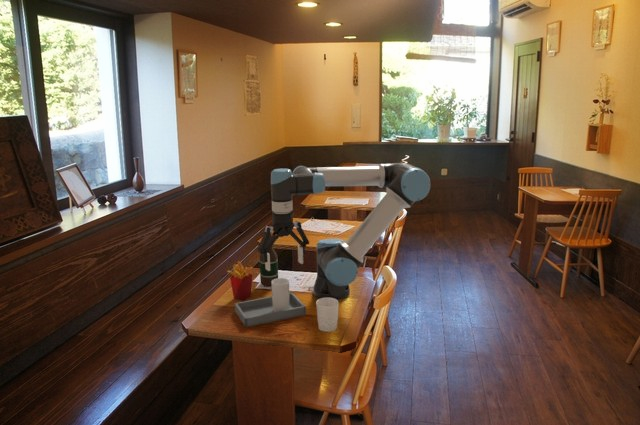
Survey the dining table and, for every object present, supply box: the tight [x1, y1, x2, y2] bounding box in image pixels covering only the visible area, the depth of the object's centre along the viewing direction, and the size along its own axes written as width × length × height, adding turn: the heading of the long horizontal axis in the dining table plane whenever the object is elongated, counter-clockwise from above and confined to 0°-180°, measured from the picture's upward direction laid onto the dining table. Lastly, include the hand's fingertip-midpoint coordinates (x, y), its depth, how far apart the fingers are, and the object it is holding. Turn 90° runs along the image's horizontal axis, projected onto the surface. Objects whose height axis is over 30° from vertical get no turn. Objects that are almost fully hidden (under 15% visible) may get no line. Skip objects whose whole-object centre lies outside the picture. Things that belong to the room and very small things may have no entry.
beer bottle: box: [259, 231, 279, 288], centre depth 225 cm, size 8×8×24 cm
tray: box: [234, 292, 307, 328], centre depth 199 cm, size 24×15×4 cm, turn 114°
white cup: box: [315, 297, 339, 333], centre depth 187 cm, size 8×8×10 cm
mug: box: [271, 277, 290, 312], centre depth 200 cm, size 10×7×12 cm, turn 158°
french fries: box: [227, 261, 253, 302], centre depth 212 cm, size 9×8×15 cm
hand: (284, 266), depth 196 cm, fingers open, 13 cm apart
